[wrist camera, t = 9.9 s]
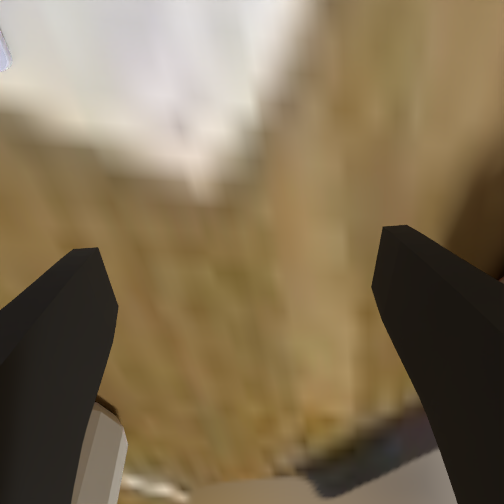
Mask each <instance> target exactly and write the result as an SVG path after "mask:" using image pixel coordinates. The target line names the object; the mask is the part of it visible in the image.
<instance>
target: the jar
mask: <svg viewBox="0 0 504 504" xmlns="http://www.w3.org/2000/svg"><path fill="white" fill-rule="evenodd" d="M127 448H128V443H127V439H126V435H125V432H124V428H123V426H122V425H121V423H120V421H119V420H118V418H117V417H116V416H115V415H114V414H113V413H111V412H110V411H108V410H107V409H106V408H104V407H103V406H102V405H100V404H99V403H97V402H94V406H93V409H92V412H91V415H90V419H89V422H88V425H87V429H86V433H85V437H84V440H83V444H82V449H81V454H80V459H79V464H78V469H77V474H76V479H75V484H74V490H73V495H72V501H71V504H117V501H118V495H119V490H120V485H121V479H122V474H123V469H124V463H125V458H126V453H127Z"/></svg>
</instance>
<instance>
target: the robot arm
mask: <svg viewBox="0 0 504 504" xmlns="http://www.w3.org/2000/svg"><path fill="white" fill-rule="evenodd" d="M11 65H12V57H11V53H10V51H9V49H8V47H7V44H6V42H5V40H4V37H3V35H2V33H1V30H0V72H2V71H4V70H6V69H9V67H10V66H11ZM371 287H372V291H373V294H374V297H375V300H376V304H377V307H378V310H379V313H380V316H381V319H382V321H383V323H384V326H385V328H386V330H387V332H388V334H389V336H390V338H391V340H392V342H393V345H394V347H395V349H396V351H397V353H398V355H399V357H400V359H401V361H402V363H403V365H404V367H405V369H406V371H407V373H408V375H409V377H410V379H411V381H412V383H413V386H414V388H415V390H416V392H417V394H418V396H419V398H420V400H421V403H422V405H423V407H424V410H425V412H426V414H427V417H428V420H429V422H430V425H431V428H432V431H433V433H434V436H435V439H436V442H437V444H438V447H439V450H440V452H441V455H442V458H443V461H444V464H445V467H446V470H447V473H448V476H449V479H450V482H451V485H452V488H453V491H454V494H455V496H456V500H457V503H458V504H504V284H503V283H501V282H500V281H498V280H496V279H494V278H493V277H491V276H489V275H488V274H486V273H484V272H483V271H481V270H479V269H478V268H476V267H474V266H473V265H471V264H469V263H468V262H466V261H465V260H463V259H461V258H460V257H458V256H457V255H455V254H453V253H452V252H450V251H449V250H447V249H446V248H444V247H442V246H441V245H439V244H438V243H436V242H435V241H433V240H431V239H430V238H428V237H427V236H425V235H423V234H422V233H420V232H418V231H417V230H415V229H413V228H411V227H409V226H408V225H399V226H385V227H383V229H382V234H381V239H380V245H379V250H378V255H377V260H376V266H375V271H374V276H373V281H372V286H371ZM117 313H118V304H117V301H116V298H115V295H114V292H113V289H112V287H111V284H110V281H109V278H108V275H107V272H106V269H105V266H104V263H103V260H102V257H101V254H100V252H99V249H98V247H97V248H83V249H73V250H72V251H70V252H69V253H68V254H66V255H65V256H64V257H63V258H61V259H60V260H59V261H58V262H57V263H56V264H54V265H53V266H52V267H51V268H50V269H49V270H47V271H46V272H45V273H44V274H43V275H42V276H40V277H39V278H38V279H37V280H36V281H35V282H33V283H32V284H31V285H30V286H29V287H28V288H26V289H25V290H24V291H23V292H22V293H21V294H19V295H18V296H17V297H16V298H15V299H14V300H12V301H11V302H10V303H9V304H8V305H6V306H5V307H4V308H2V309H1V310H0V504H71V501H72V495H73V490H74V484H75V479H76V474H77V469H78V464H79V459H80V454H81V449H82V444H83V440H84V437H85V433H86V429H87V425H88V422H89V419H90V415H91V412H92V409H93V406H94V402H95V399H96V396H97V393H98V390H99V386H100V383H101V380H102V377H103V373H104V370H105V367H106V364H107V360H108V357H109V354H110V350H111V347H112V343H113V338H114V333H115V327H116V320H117Z"/></svg>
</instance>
